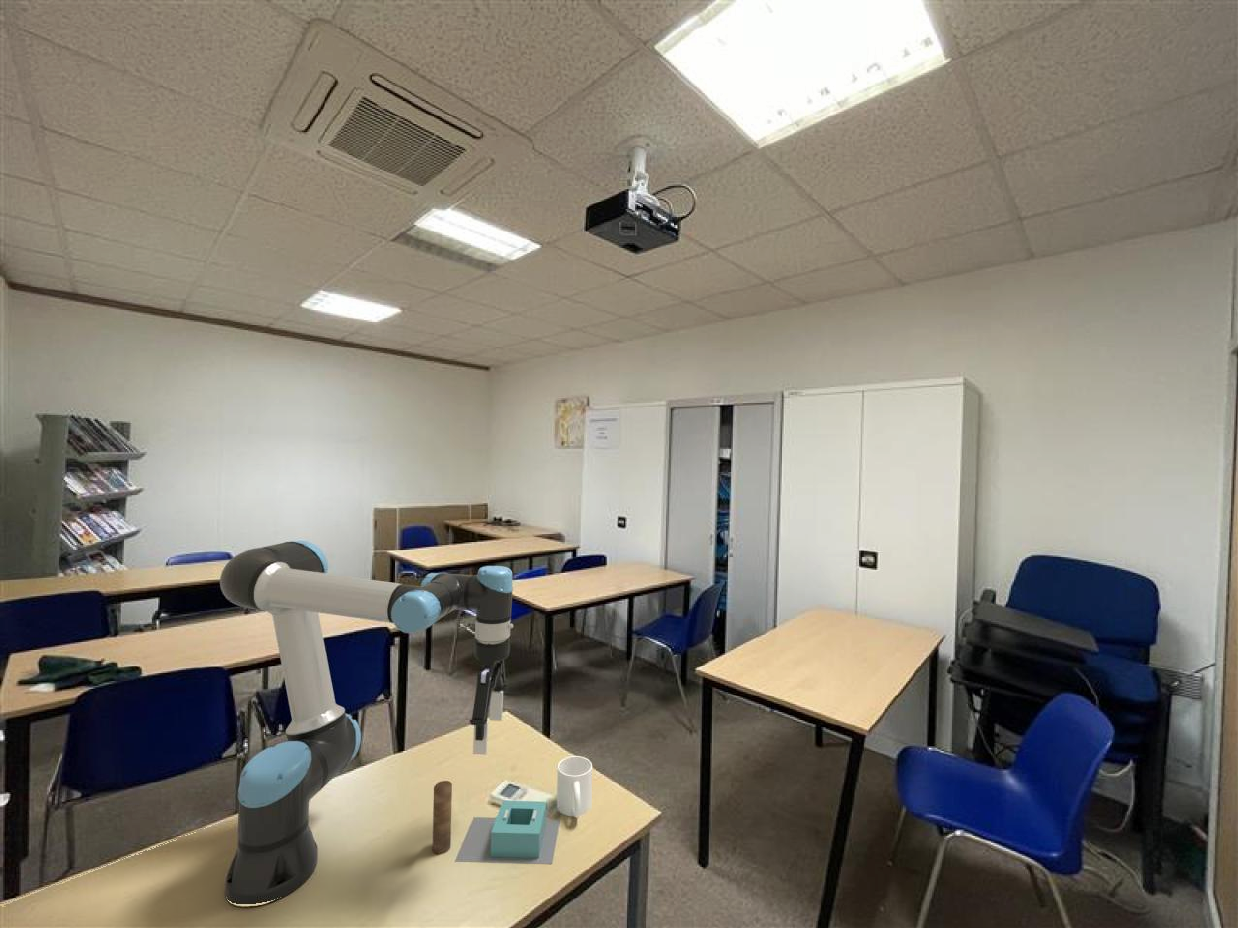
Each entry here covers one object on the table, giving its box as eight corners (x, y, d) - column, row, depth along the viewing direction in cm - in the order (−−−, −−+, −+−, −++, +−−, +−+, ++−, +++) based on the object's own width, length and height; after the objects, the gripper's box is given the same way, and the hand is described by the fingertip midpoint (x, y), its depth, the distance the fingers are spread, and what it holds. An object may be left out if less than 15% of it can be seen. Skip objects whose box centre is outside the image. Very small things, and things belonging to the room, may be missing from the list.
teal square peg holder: (490, 856, 104) (491, 829, 104) (502, 822, 114) (502, 798, 114) (538, 857, 104) (539, 831, 104) (546, 823, 114) (546, 799, 114)
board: (454, 865, 103) (454, 861, 103) (473, 821, 116) (473, 816, 116) (552, 868, 102) (552, 863, 102) (560, 823, 115) (560, 819, 115)
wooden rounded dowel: (429, 858, 104) (431, 791, 105) (436, 845, 108) (437, 780, 108) (446, 859, 104) (448, 791, 104) (452, 846, 108) (454, 781, 108)
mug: (594, 830, 114) (595, 784, 114) (558, 833, 112) (559, 787, 112) (589, 795, 126) (590, 754, 126) (556, 798, 124) (556, 756, 124)
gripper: (496, 661, 97) (491, 770, 97) (520, 621, 122) (516, 708, 122) (457, 659, 97) (452, 769, 97) (489, 620, 122) (485, 707, 122)
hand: (488, 735), depth 110 cm, fingers open, 13 cm apart
